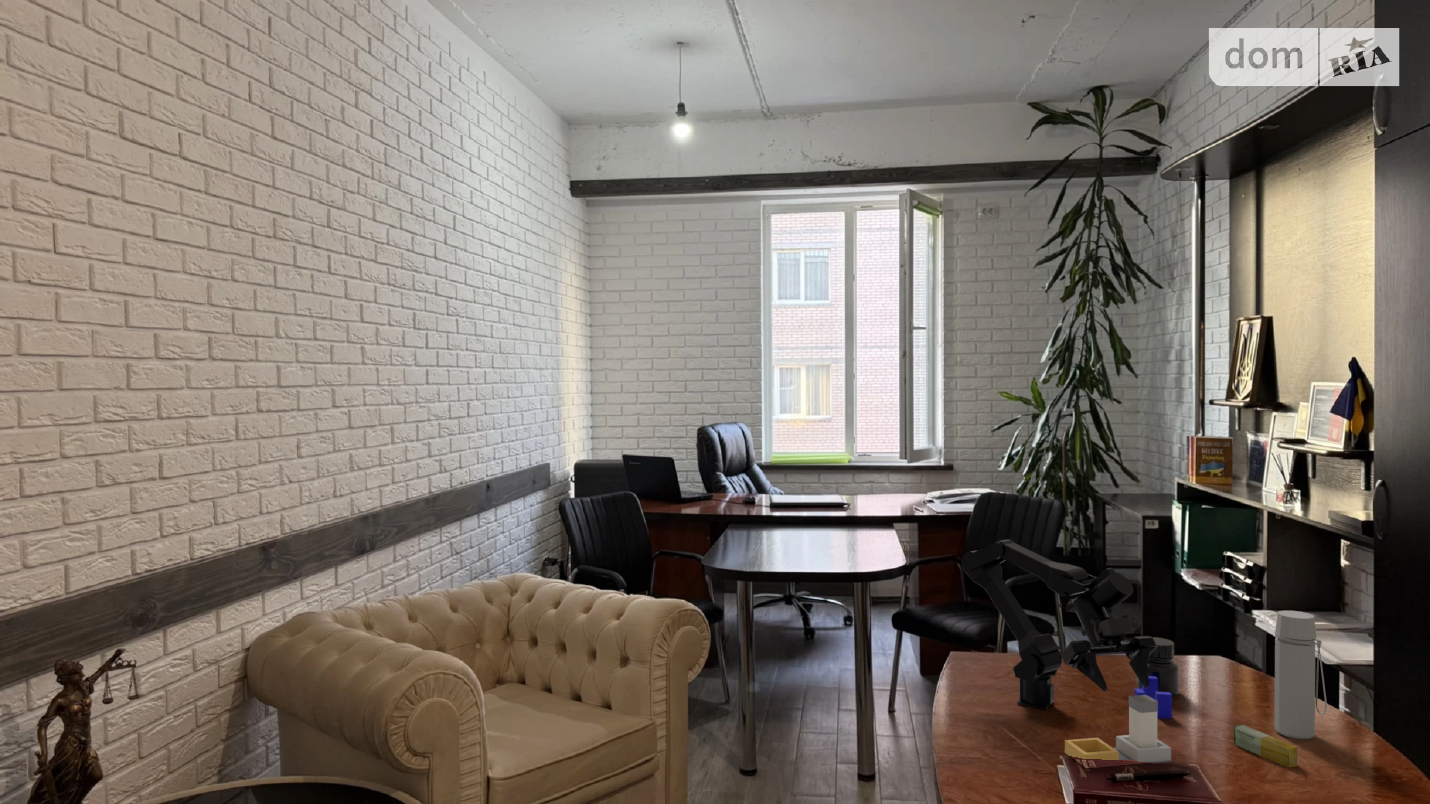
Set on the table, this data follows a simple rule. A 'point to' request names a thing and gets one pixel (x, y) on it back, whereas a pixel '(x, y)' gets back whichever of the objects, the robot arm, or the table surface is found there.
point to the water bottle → (1296, 674)
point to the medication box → (1265, 745)
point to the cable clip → (1158, 697)
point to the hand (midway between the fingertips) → (1126, 688)
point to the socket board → (1117, 750)
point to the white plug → (1143, 721)
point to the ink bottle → (1163, 667)
